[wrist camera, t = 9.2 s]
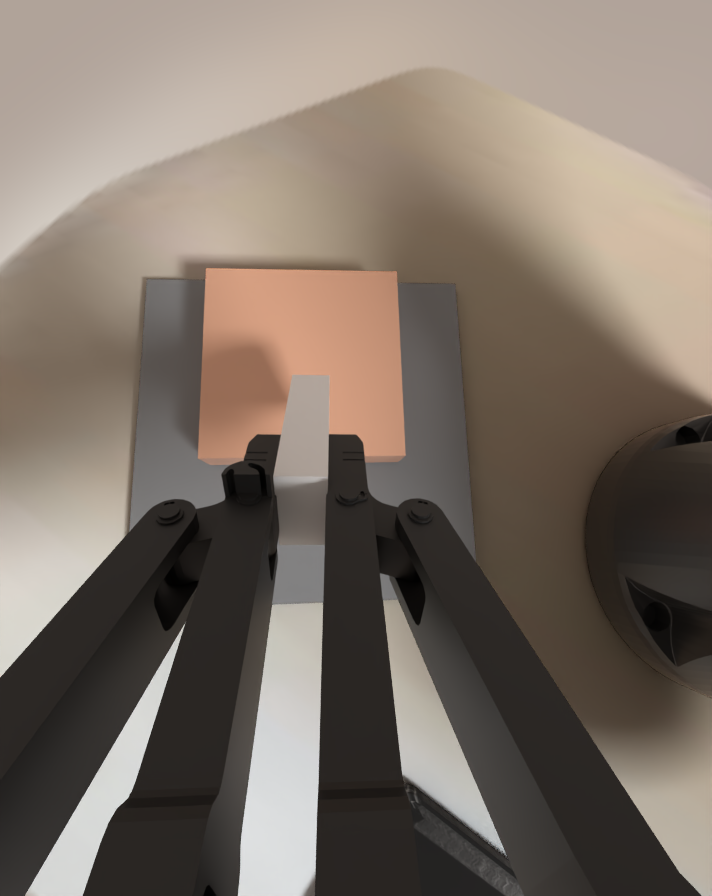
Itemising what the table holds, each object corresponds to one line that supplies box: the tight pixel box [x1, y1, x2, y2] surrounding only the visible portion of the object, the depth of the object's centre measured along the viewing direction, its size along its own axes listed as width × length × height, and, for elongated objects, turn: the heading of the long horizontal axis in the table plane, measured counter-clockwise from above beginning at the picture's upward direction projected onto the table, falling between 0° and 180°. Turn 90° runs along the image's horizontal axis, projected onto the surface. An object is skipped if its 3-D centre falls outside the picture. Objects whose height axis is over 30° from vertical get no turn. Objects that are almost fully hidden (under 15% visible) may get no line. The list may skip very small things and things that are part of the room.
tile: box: [198, 268, 406, 465], centre depth 22 cm, size 10×2×10 cm
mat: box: [129, 279, 476, 605], centre depth 23 cm, size 18×18×1 cm
